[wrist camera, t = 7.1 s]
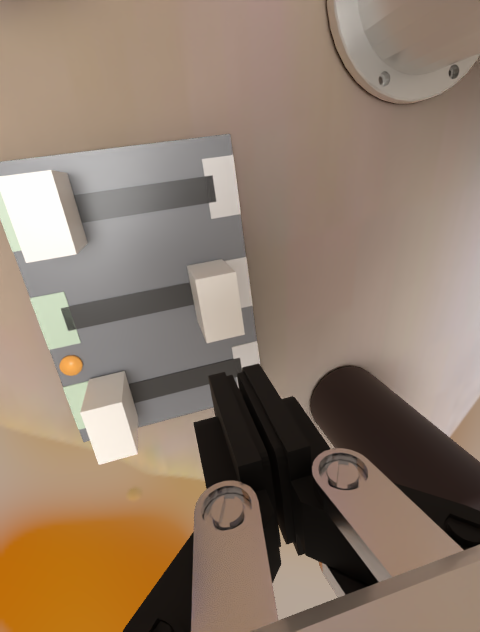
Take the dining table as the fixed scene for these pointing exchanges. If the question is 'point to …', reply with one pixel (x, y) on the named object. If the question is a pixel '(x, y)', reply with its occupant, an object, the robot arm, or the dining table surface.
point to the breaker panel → (141, 273)
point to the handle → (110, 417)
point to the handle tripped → (216, 300)
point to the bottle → (393, 436)
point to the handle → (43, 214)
